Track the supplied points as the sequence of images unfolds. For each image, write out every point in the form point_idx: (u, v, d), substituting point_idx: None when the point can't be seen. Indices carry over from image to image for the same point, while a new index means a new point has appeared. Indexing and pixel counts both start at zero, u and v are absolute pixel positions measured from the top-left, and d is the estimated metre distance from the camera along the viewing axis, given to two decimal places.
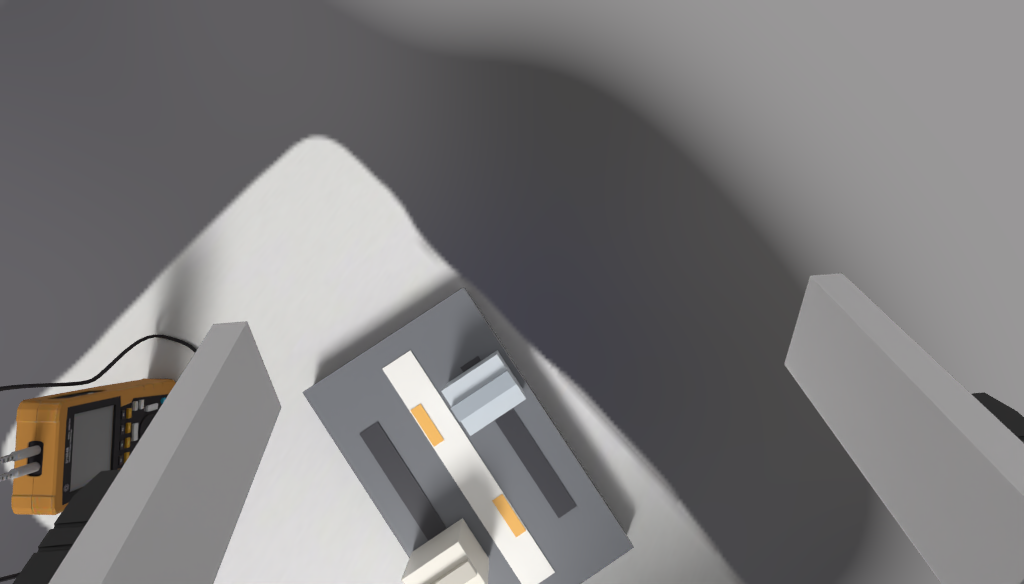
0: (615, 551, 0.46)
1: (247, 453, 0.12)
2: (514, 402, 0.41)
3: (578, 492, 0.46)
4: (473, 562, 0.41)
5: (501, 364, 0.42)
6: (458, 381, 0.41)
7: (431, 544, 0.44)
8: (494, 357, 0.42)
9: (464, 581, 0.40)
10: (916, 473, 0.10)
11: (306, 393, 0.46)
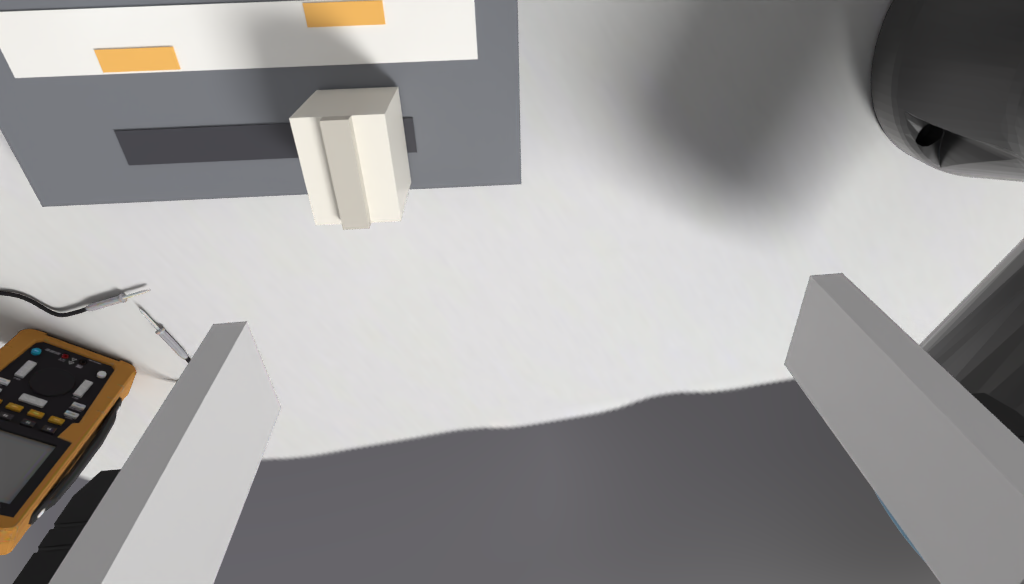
0: None
1: (247, 453, 0.12)
2: None
3: None
4: (340, 113, 0.24)
5: None
6: None
7: None
8: None
9: (349, 143, 0.23)
10: (916, 473, 0.10)
11: (45, 202, 0.30)
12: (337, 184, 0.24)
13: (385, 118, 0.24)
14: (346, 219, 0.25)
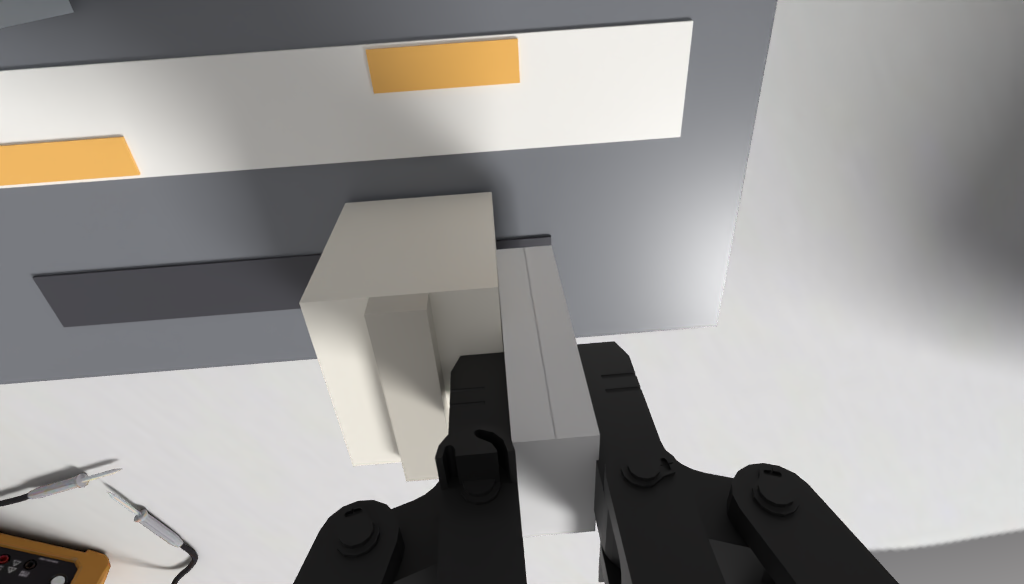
0: None
1: None
2: None
3: None
4: (403, 283, 0.12)
5: None
6: None
7: None
8: None
9: (425, 351, 0.11)
10: None
11: None
12: (398, 416, 0.12)
13: (497, 293, 0.11)
14: (413, 466, 0.13)
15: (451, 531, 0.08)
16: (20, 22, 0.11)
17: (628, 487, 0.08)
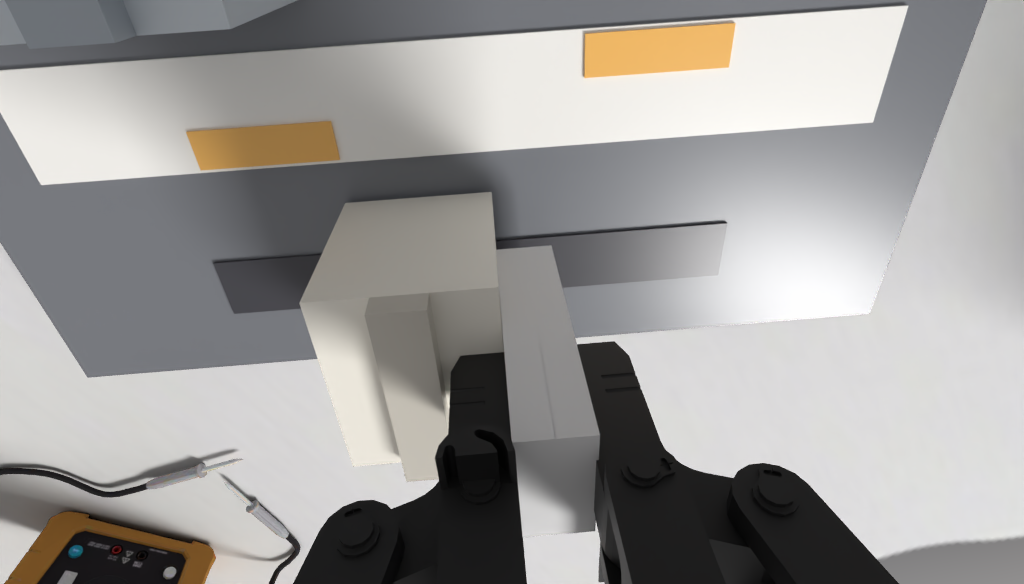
0: None
1: None
2: None
3: None
4: (403, 283, 0.11)
5: None
6: None
7: None
8: None
9: (425, 351, 0.11)
10: None
11: (92, 371, 0.18)
12: (398, 416, 0.12)
13: None
14: (413, 466, 0.13)
15: (451, 531, 0.08)
16: (287, 3, 0.11)
17: (628, 487, 0.08)
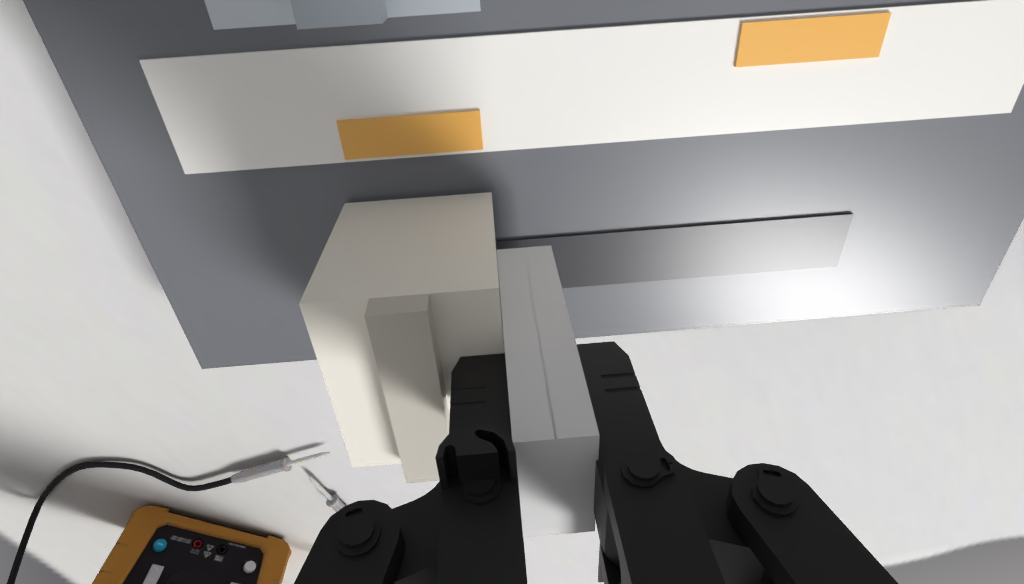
0: None
1: None
2: None
3: None
4: (403, 284, 0.11)
5: None
6: None
7: None
8: None
9: (425, 352, 0.11)
10: None
11: (207, 362, 0.18)
12: (398, 418, 0.12)
13: (498, 294, 0.11)
14: (413, 467, 0.13)
15: (451, 531, 0.08)
16: None
17: (628, 487, 0.08)
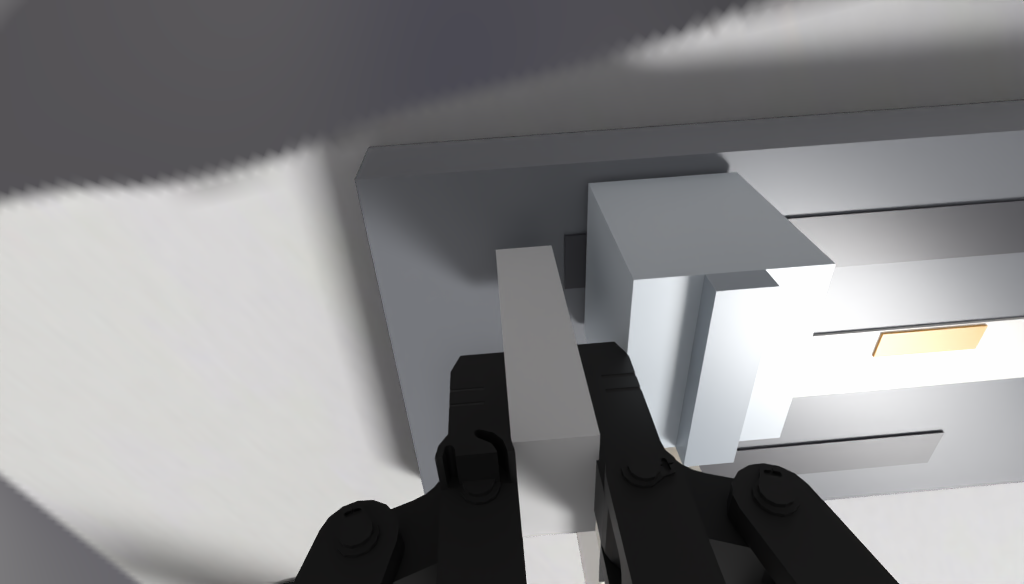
0: None
1: None
2: (812, 302, 0.11)
3: None
4: None
5: (675, 283, 0.11)
6: None
7: None
8: (637, 292, 0.11)
9: None
10: None
11: None
12: None
13: None
14: None
15: (451, 531, 0.08)
16: None
17: (629, 487, 0.08)
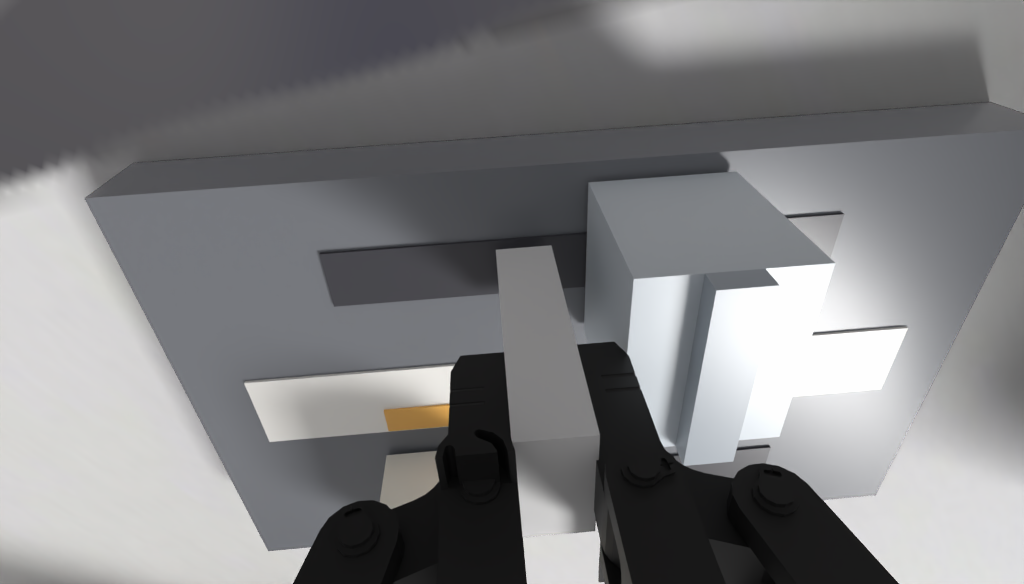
0: (1017, 179, 0.16)
1: None
2: (811, 301, 0.11)
3: (820, 190, 0.16)
4: None
5: (675, 282, 0.11)
6: None
7: None
8: (637, 291, 0.11)
9: None
10: None
11: (273, 547, 0.23)
12: None
13: None
14: None
15: (451, 531, 0.08)
16: None
17: (628, 487, 0.08)
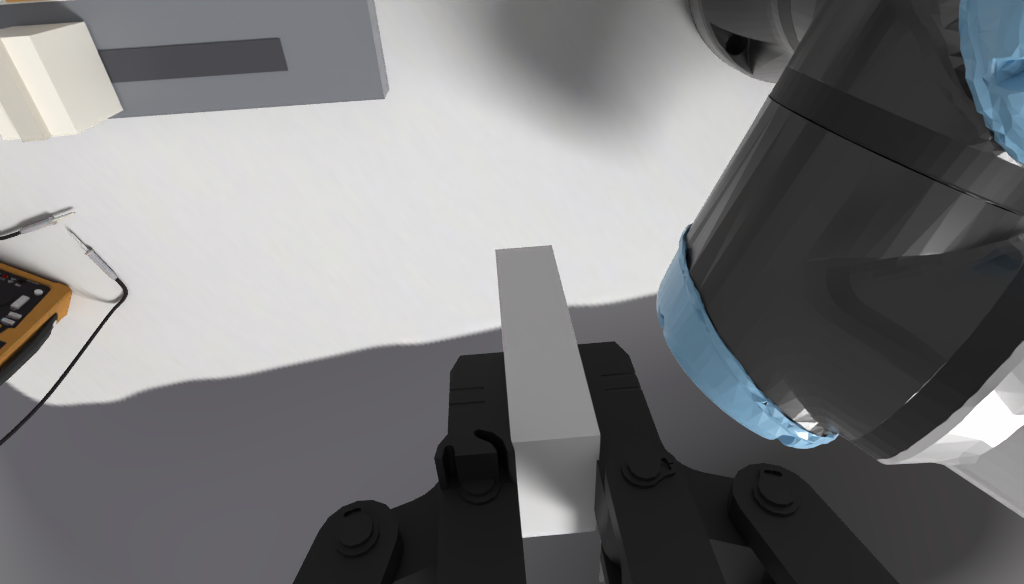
0: None
1: None
2: None
3: None
4: None
5: None
6: None
7: None
8: None
9: (0, 62, 0.28)
10: None
11: None
12: (2, 99, 0.29)
13: (32, 40, 0.28)
14: (22, 132, 0.30)
15: (451, 531, 0.08)
16: None
17: (629, 487, 0.08)
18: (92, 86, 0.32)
